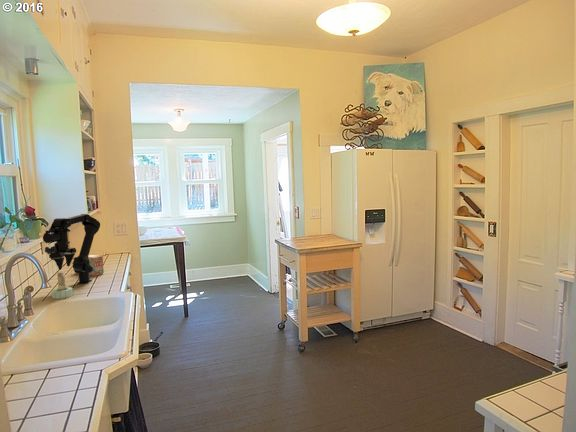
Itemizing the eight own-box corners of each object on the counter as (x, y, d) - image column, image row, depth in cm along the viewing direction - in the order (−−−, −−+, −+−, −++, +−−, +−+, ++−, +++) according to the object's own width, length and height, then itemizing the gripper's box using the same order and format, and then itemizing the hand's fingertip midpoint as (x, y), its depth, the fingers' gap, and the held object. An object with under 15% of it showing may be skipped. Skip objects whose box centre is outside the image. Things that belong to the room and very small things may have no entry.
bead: (58, 294, 205) (57, 287, 204) (76, 293, 205) (75, 286, 205) (48, 299, 195) (47, 292, 195) (67, 298, 196) (66, 291, 196)
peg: (63, 295, 202) (61, 272, 201) (67, 295, 201) (65, 272, 200) (57, 296, 199) (55, 273, 198) (62, 297, 198) (60, 273, 197)
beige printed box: (76, 273, 258) (74, 255, 257) (85, 271, 263) (83, 253, 262) (95, 276, 247) (94, 257, 246) (104, 274, 252) (102, 255, 251)
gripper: (56, 239, 222) (58, 265, 223) (37, 243, 204) (40, 272, 205) (75, 238, 223) (77, 264, 224) (59, 242, 205) (61, 271, 206)
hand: (64, 267), depth 215 cm, fingers open, 9 cm apart
